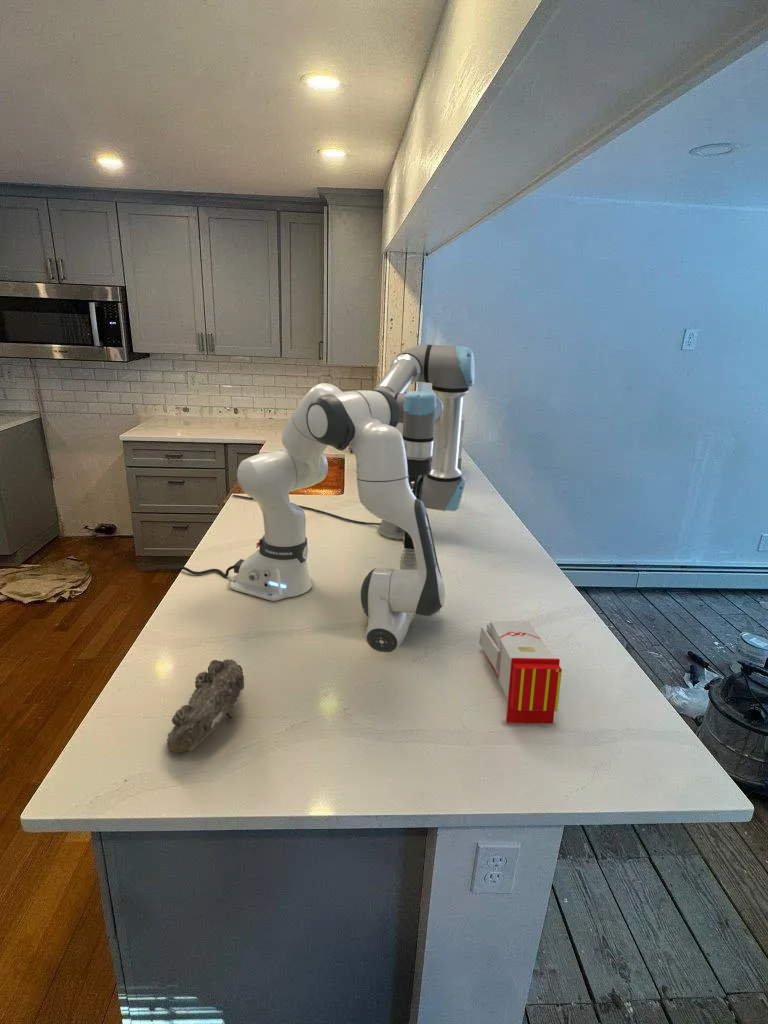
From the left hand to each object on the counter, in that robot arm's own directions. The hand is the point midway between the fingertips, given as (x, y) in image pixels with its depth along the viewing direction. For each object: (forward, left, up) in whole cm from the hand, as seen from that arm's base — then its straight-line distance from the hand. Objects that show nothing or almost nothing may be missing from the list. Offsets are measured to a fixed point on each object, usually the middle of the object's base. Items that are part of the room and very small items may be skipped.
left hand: (408, 582), depth 151 cm
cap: (0, -1, +13) cm, 13 cm away
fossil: (-27, -55, -6) cm, 62 cm away
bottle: (0, -1, -6) cm, 6 cm away
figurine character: (-63, +159, -6) cm, 171 cm away
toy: (+29, -26, -6) cm, 39 cm away
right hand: (0, -1, +11) cm, 11 cm away
